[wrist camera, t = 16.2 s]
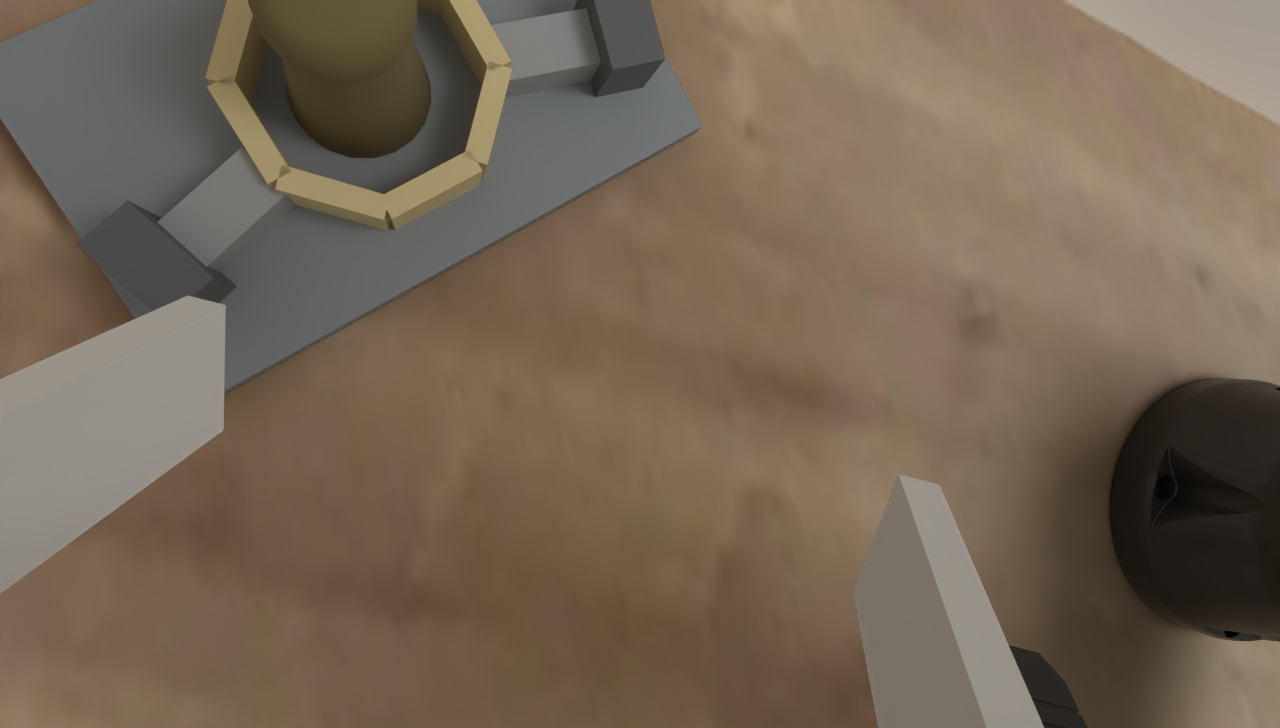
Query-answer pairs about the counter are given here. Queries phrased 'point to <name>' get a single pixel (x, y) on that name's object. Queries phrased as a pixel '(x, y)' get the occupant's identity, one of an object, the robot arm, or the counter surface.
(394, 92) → the cork
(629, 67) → the stand
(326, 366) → the counter surface
